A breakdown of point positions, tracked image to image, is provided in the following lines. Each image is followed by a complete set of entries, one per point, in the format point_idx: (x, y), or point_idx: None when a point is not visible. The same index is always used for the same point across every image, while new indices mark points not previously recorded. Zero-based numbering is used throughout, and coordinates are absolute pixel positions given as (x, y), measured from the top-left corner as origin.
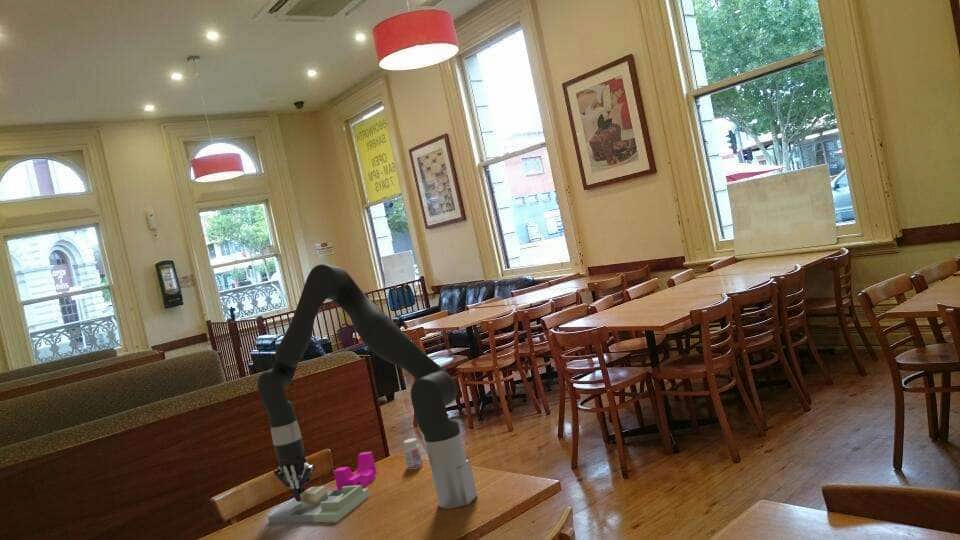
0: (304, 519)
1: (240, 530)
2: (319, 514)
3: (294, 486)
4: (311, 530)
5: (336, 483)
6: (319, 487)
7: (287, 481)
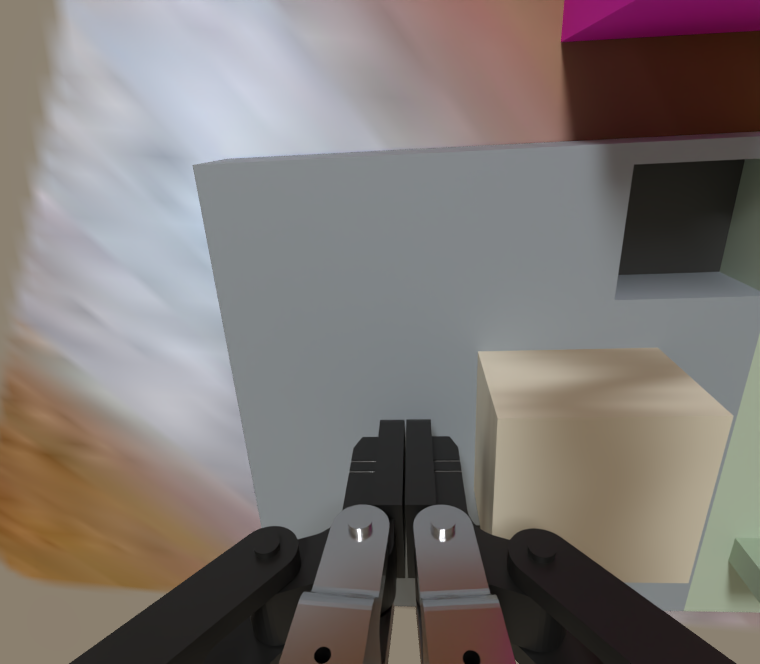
0: None
1: (111, 579)
2: (744, 609)
3: (392, 603)
4: (674, 613)
5: (615, 11)
6: (654, 447)
7: (273, 658)
